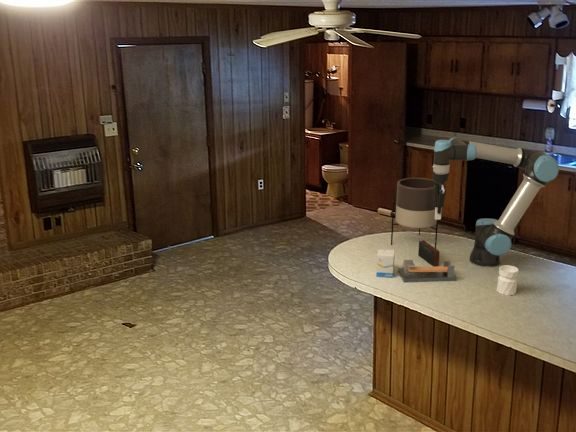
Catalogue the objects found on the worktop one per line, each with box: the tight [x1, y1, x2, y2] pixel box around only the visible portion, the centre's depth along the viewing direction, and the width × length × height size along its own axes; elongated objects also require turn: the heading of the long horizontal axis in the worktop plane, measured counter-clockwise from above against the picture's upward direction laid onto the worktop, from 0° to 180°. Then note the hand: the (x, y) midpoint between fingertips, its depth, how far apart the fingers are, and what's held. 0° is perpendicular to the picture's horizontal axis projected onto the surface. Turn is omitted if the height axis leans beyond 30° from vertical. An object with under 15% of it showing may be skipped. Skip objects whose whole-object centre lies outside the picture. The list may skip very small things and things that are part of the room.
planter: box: [390, 177, 439, 249], centre depth 358 cm, size 26×25×35 cm
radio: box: [417, 239, 441, 267], centre depth 335 cm, size 19×3×15 cm, turn 18°
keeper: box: [402, 259, 416, 275], centre depth 316 cm, size 4×7×6 cm, turn 3°
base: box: [397, 259, 458, 283], centre depth 318 cm, size 26×13×8 cm, turn 93°
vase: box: [496, 264, 520, 295], centre depth 299 cm, size 9×9×12 cm
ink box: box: [375, 248, 396, 279], centre depth 321 cm, size 9×8×12 cm
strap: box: [408, 265, 447, 272], centre depth 316 cm, size 21×5×1 cm, turn 93°
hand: (437, 219), depth 315 cm, fingers closed
